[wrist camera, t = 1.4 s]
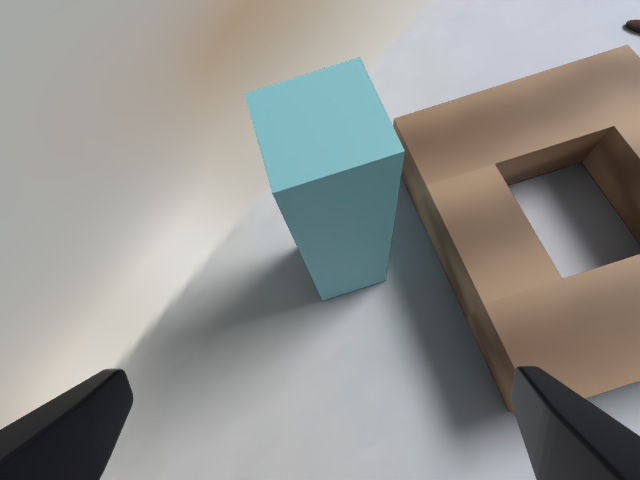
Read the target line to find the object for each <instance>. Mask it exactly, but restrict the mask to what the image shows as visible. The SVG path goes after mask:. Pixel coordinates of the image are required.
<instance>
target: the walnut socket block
mask: <svg viewBox="0 0 640 480" xmlns="http://www.w3.org/2000/svg"><path fill="white" fill-rule="evenodd" d="M393 127H394V129H395V132H396V134H397V136H398V138H399V140H400V142H401V144H402V146H403V148H404V150H405V154H404V160H403V167H402V174H401V176H402V179H403V181H404V183H405V185H406V187H407V190H408V192H409V194H410V196H411V198H412V201H413V203H414V205H415V207H416V209H417V211H418V214H419V216H420V218H421V220H422V222H423V225H424V227H425V229H426V231H427V233H428V236H429V238H430V240H431V242H432V244H433V247H434V249H435V251H436V253H437V255H438V258H439V260H440V262H441V264H442V266H443V268H444V271H445V273H446V275H447V277H448V279H449V282H450V284H451V286H452V288H453V290H454V293H455V295H456V297H457V299H458V301H459V304H460V306H461V308H462V310H463V312H464V314H465V317H466V319H467V321H468V323H469V325H470V328H471V330H472V332H473V334H474V336H475V339H476V341H477V343H478V345H479V347H480V350H481V352H482V354H483V356H484V358H485V361H486V363H487V365H488V367H489V369H490V371H491V374H492V376H493V378H494V380H495V382H496V385H497V387H498V389H499V391H500V393H501V396H502V398H503V400H504V402H505V404H506V407H507V409H508V411H509V412H514V409H513V405H512V399H511V395H512V387H513V380H514V373H515V369H516V368H517V367H518V366H537V367H539V368H541V369H542V370H544V371H545V372H547V373H548V374H550V375H551V376H553V377H554V378H556V379H557V380H559V381H560V382H561V383H563V384H564V385H566V386H567V387H569V388H570V389H572V390H573V391H575V392H576V393H577V394H579V395H580V396H582V397H583V398H588V397H591V396H594V395H597V394H600V393H604V392H607V391H610V390H613V389H616V388H619V387H622V386H625V385H628V384H631V383H635V382H638V381H640V254H639V255H635V256H632V257H629V258H626V259H623V260H620V261H617V262H614V263H610V264H607V265H604V266H601V267H598V268H595V269H592V270H589V271H585V272H582V273H579V274H576V275H573V276H570V277H567V278H564V279H562V277H561V275H560V274H559V272H558V270H557V269H556V267H555V265H554V264H553V262H552V260H551V258H550V257H549V255H548V253H547V252H546V250H545V248H544V247H543V245H542V243H541V241H540V240H539V238H538V236H537V235H536V233H535V231H534V230H533V228H532V226H531V224H530V223H529V221H528V219H527V218H526V216H525V214H524V213H523V211H522V209H521V208H520V206H519V204H518V202H517V201H516V199H515V197H514V196H513V194H512V192H511V191H510V189H509V187H508V185H511V184H514V183H517V182H520V181H523V180H527V179H530V178H533V177H536V176H539V175H542V174H545V173H549V172H552V171H555V170H558V169H561V168H564V167H567V166H570V165H574V164H577V163H580V162H582V163H583V165H584V166H585V167H586V169H587V170H588V172H589V173H590V174H591V176H592V177H593V179H594V180H595V182H596V183H597V184H598V186H599V187H600V189H601V190H602V191H603V193H604V194H605V196H606V197H607V198H608V200H609V201H610V203H611V204H612V206H613V207H614V208H615V210H616V211H617V213H618V214H619V215H620V217H621V218H622V220H623V221H624V223H625V224H626V225H627V227H628V228H629V230H630V231H631V232H632V234H633V235H634V237H635V238H636V239H637V241H638V242H639V244H640V58H639V57H638V55H637V54H636V53H635V52H634V51H633V50H632V49H631V48H630V47H629V46H628V45H625V46H622V47H619V48H616V49H613V50H609V51H606V52H603V53H600V54H597V55H594V56H590V57H587V58H584V59H581V60H578V61H575V62H572V63H568V64H565V65H562V66H559V67H556V68H553V69H549V70H546V71H543V72H540V73H537V74H534V75H530V76H527V77H524V78H521V79H518V80H515V81H512V82H508V83H505V84H502V85H499V86H496V87H493V88H489V89H486V90H483V91H480V92H477V93H474V94H470V95H467V96H464V97H461V98H458V99H455V100H452V101H448V102H445V103H442V104H439V105H436V106H433V107H429V108H426V109H423V110H420V111H417V112H414V113H410V114H407V115H404V116H401V117H398V118H395V119H394V124H393Z"/></svg>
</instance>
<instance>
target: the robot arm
mask: <svg viewBox="0 0 640 480" xmlns="http://www.w3.org/2000/svg"><path fill="white" fill-rule="evenodd" d="M511 399H512V405H513V409H514V412H515V415H516V418H517V421H518V424H519V427H520V431H521V434H522V437H523V440H524V443H525V446H526V449H527V452H528V455H529V458H530V461H531V464H532V467H533V470H534V473H535V476H536V479H537V480H640V436H639V435H637V434H636V433H634V432H633V431H631V430H630V429H628V428H627V427H626V426H624V425H623V424H621V423H620V422H618V421H617V420H615V419H614V418H612V417H611V416H610V415H608V414H607V413H605V412H604V411H602V410H601V409H599V408H598V407H596V406H595V405H593V404H592V403H591V402H589V401H588V400H586V399H585V398H583V397H582V396H580V395H579V394H577V393H576V392H575V391H573V390H572V389H570V388H569V387H567V386H566V385H564V384H563V383H561V382H560V381H559V380H557V379H556V378H554V377H553V376H551V375H550V374H548V373H547V372H545V371H544V370H542V369H541V368H539V367H537V366H518V367H517V368H516V369H515V373H514V380H513V387H512V395H511ZM132 404H133V393H132V390H131V387H130V384H129V381H128V378H127V375H126V373H125V371H124V370H122V369H105V370H103V371H101V372H99V373H97V374H96V375H94V376H92V377H90V378H89V379H87V380H85V381H84V382H82V383H80V384H78V385H77V386H75V387H73V388H71V389H70V390H68V391H67V392H65V393H63V394H61V395H60V396H58V397H56V398H54V399H53V400H51V401H49V402H47V403H46V404H44V405H42V406H40V407H39V408H37V409H35V410H34V411H32V412H30V413H28V414H27V415H25V416H23V417H22V418H20V419H18V420H16V421H15V422H13V423H11V424H10V425H8V426H6V427H4V428H3V429H1V430H0V480H100V478H101V476H102V474H103V472H104V470H105V467H106V465H107V463H108V461H109V459H110V456H111V454H112V452H113V449H114V447H115V445H116V442H117V440H118V437H119V435H120V433H121V430H122V428H123V426H124V423H125V421H126V419H127V416H128V414H129V412H130V409H131V407H132Z"/></svg>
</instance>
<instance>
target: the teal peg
mask: <svg viewBox="0 0 640 480" xmlns="http://www.w3.org/2000/svg"><path fill="white" fill-rule="evenodd" d="M245 97H246V101H247V104H248V108H249V111H250V115H251V119H252V122H253V125H254V129H255V133H256V136H257V140H258V144H259V147H260V151H261V155H262V158H263V162H264V165H265V169H266V172H267V176H268V180H269V183H270V187H271V190H272V194H273V196H274V198H275V200H276V202H277V204H278V207H279V209H280V211H281V213H282V215H283V217H284V219H285V222H286V224H287V226H288V228H289V230H290V232H291V234H292V237H293V239H294V241H295V243H296V245H297V247H298V250H299V252H300V254H301V256H302V258H303V260H304V262H305V265H306V267H307V269H308V271H309V273H310V275H311V277H312V280H313V282H314V284H315V286H316V288H317V290H318V292H319V295H320V297H321V299H322V301H324V300H327V299H330V298H333V297H336V296H339V295H342V294H345V293H349V292H352V291H355V290H358V289H361V288H364V287H367V286H371V285H374V284H377V283H380V282H383V281H386V275H387V268H388V262H389V255H390V248H391V241H392V235H393V228H394V221H395V214H396V208H397V201H398V194H399V187H400V181H401V174H402V167H403V160H404V154H405V150H404V148H403V146H402V144H401V142H400V140H399V138H398V136H397V134H396V132H395V129H394V127H393V125H392V123H391V121H390V119H389V117H388V115H387V113H386V111H385V109H384V106H383V104H382V102H381V100H380V98H379V96H378V94H377V92H376V90H375V88H374V85H373V83H372V81H371V79H370V77H369V75H368V73H367V71H366V69H365V67H364V64H363V62H362V60H361V58H360V57H359V58H356V59H353V60H349V61H346V62H343V63H340V64H337V65H333V66H330V67H327V68H324V69H321V70H318V71H314V72H311V73H308V74H305V75H302V76H299V77H295V78H292V79H289V80H286V81H283V82H279V83H276V84H273V85H270V86H267V87H264V88H261V89H257V90H254V91H251V92H248V93H245Z"/></svg>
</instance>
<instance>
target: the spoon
mask: <svg viewBox="0 0 640 480" xmlns="http://www.w3.org/2000/svg"><path fill="white" fill-rule="evenodd" d="M626 25H627V26H628V27H629V28H631V29H632V30H635V31H637V32H640V20H630V21H628V22H627V23H626Z"/></svg>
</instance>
